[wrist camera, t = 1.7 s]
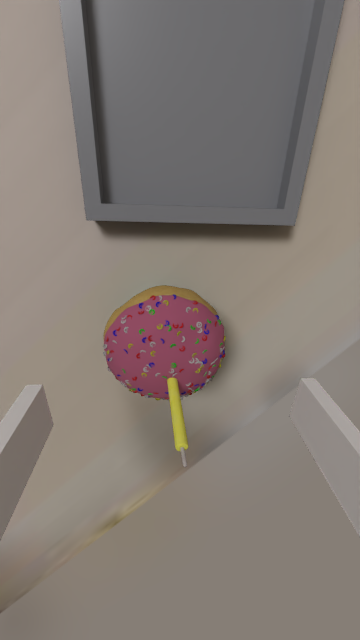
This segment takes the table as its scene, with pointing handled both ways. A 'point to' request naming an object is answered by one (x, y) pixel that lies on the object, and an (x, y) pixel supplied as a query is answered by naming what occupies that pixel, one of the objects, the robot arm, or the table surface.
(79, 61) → the tray
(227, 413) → the table surface
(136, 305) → the cupcake
